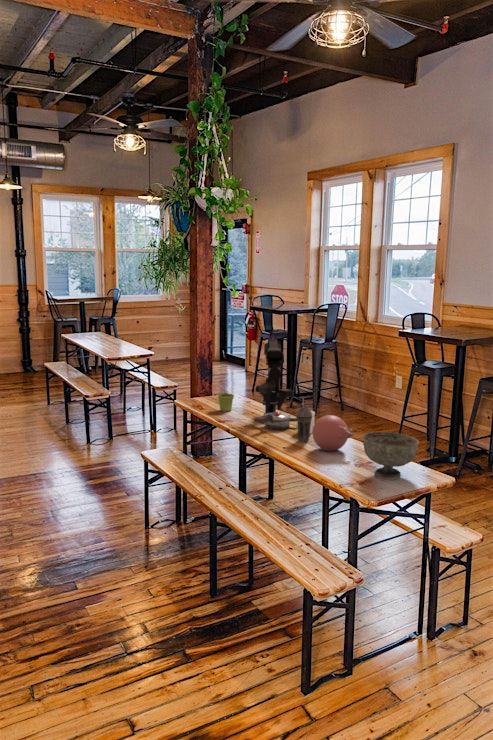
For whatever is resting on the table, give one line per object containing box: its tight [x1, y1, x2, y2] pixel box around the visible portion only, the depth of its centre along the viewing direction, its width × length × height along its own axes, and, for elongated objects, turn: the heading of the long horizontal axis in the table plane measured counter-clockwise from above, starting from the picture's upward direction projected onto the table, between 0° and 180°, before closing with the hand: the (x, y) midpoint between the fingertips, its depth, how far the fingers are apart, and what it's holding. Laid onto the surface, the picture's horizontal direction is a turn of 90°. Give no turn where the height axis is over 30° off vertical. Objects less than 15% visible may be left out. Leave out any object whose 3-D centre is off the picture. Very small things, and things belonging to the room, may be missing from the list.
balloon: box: [312, 414, 354, 452], centre depth 249 cm, size 15×20×15 cm
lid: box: [256, 411, 292, 425], centre depth 285 cm, size 21×13×2 cm, turn 142°
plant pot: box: [217, 393, 235, 413], centre depth 320 cm, size 9×9×9 cm
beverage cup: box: [295, 397, 312, 443], centre depth 264 cm, size 7×7×20 cm
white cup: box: [309, 410, 316, 435], centre depth 279 cm, size 8×8×10 cm
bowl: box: [362, 431, 420, 481], centre depth 221 cm, size 20×19×15 cm
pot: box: [253, 417, 297, 431], centre depth 289 cm, size 12×23×4 cm, turn 92°
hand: (273, 408), depth 275 cm, fingers open, 6 cm apart
